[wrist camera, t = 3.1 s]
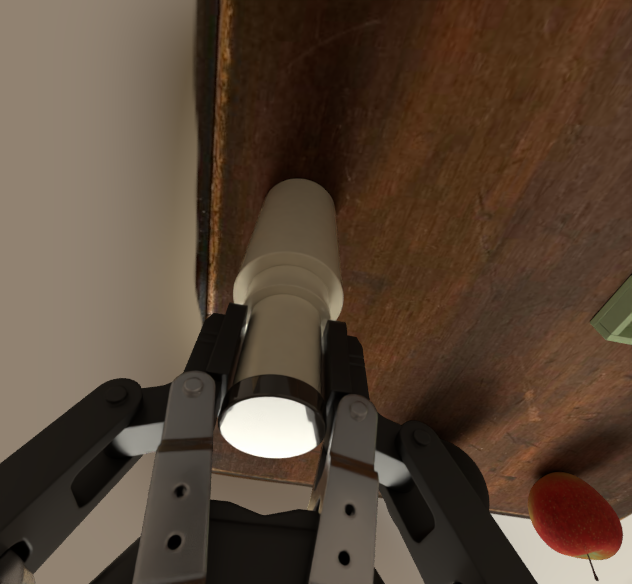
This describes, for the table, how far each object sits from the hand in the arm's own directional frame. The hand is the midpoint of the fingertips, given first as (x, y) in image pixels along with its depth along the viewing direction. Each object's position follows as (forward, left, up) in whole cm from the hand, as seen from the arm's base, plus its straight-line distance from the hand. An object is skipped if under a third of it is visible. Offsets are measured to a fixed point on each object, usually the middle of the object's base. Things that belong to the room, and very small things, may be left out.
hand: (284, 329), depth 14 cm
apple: (+27, +37, -12) cm, 47 cm away
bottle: (0, 0, -11) cm, 11 cm away
